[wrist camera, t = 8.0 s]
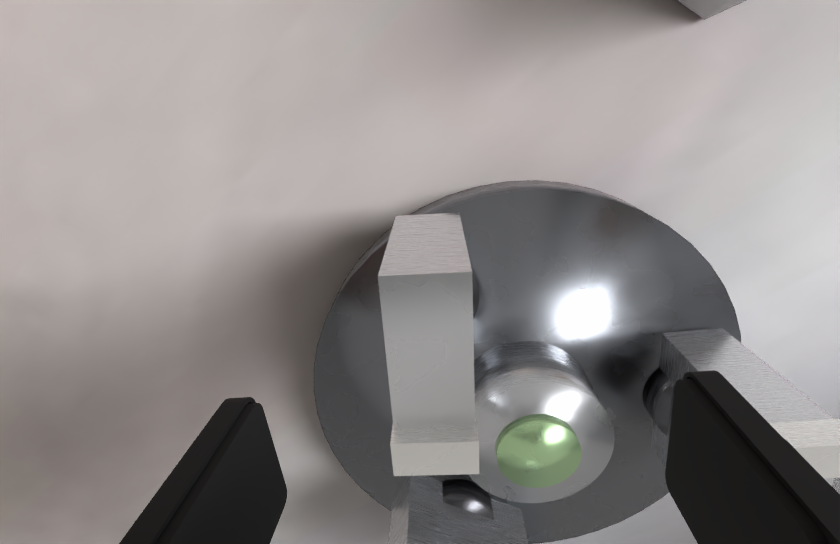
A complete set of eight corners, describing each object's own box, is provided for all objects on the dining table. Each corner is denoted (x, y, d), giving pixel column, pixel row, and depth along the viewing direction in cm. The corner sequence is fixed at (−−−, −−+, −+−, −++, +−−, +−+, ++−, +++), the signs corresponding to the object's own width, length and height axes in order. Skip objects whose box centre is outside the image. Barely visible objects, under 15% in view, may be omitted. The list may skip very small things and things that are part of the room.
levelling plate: (775, 409, 22) (875, 502, 17) (464, 556, 27) (471, 663, 22) (593, 81, 17) (662, 76, 12) (243, 334, 22) (185, 408, 17)
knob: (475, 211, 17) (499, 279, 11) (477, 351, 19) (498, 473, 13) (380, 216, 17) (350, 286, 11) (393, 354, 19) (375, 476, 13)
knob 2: (637, 446, 21) (723, 595, 15) (647, 332, 18) (753, 450, 12) (718, 441, 20) (839, 589, 14) (738, 324, 18) (892, 441, 12)
